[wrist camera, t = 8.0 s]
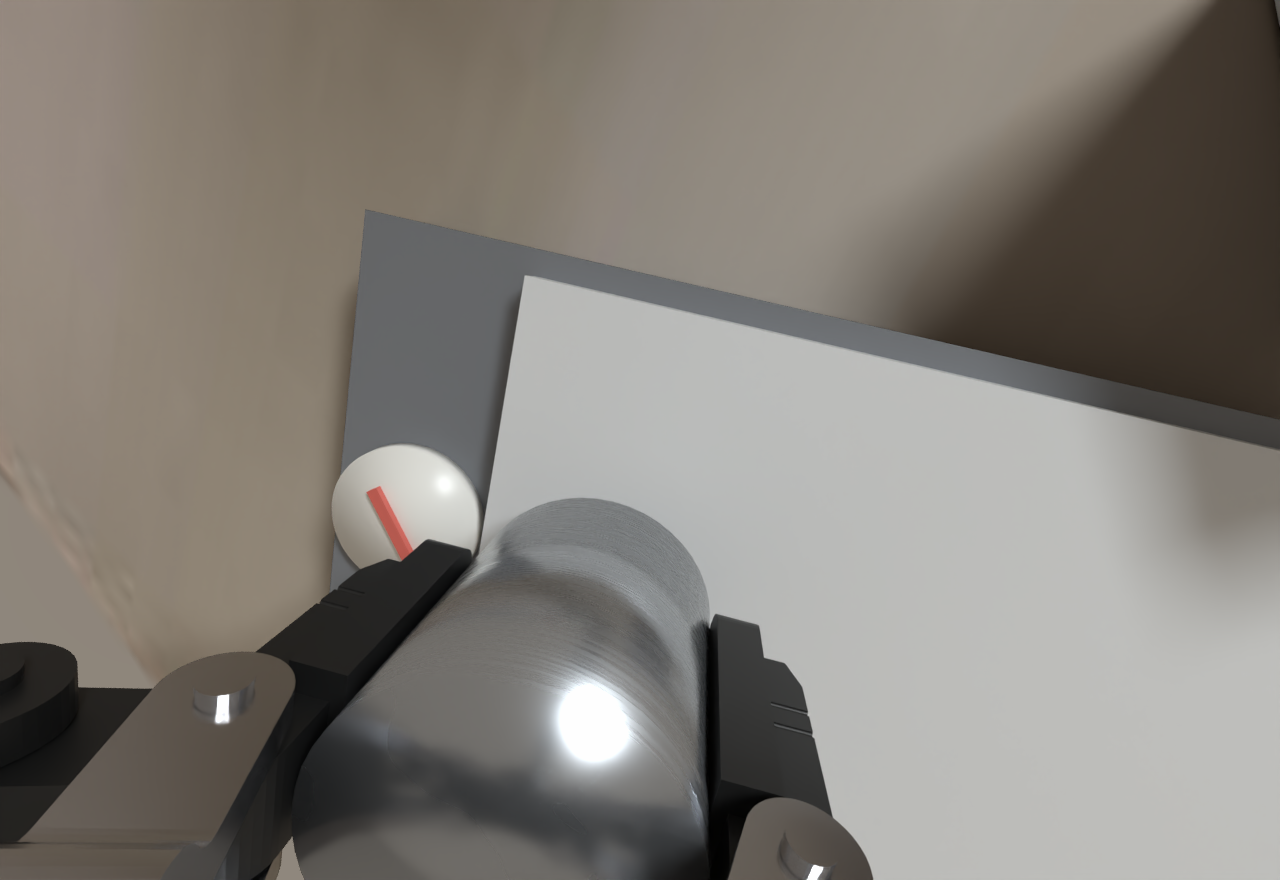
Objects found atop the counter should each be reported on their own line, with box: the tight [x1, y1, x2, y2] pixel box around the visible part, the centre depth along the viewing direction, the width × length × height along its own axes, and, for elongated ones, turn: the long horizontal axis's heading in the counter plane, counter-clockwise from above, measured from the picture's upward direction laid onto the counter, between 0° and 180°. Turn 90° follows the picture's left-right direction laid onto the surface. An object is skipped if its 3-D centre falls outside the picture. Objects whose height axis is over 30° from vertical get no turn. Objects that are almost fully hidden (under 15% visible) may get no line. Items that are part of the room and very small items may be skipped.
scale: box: [330, 209, 1280, 880], centre depth 13 cm, size 12×22×3 cm, turn 77°
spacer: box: [291, 498, 710, 880], centre depth 8 cm, size 4×4×5 cm
